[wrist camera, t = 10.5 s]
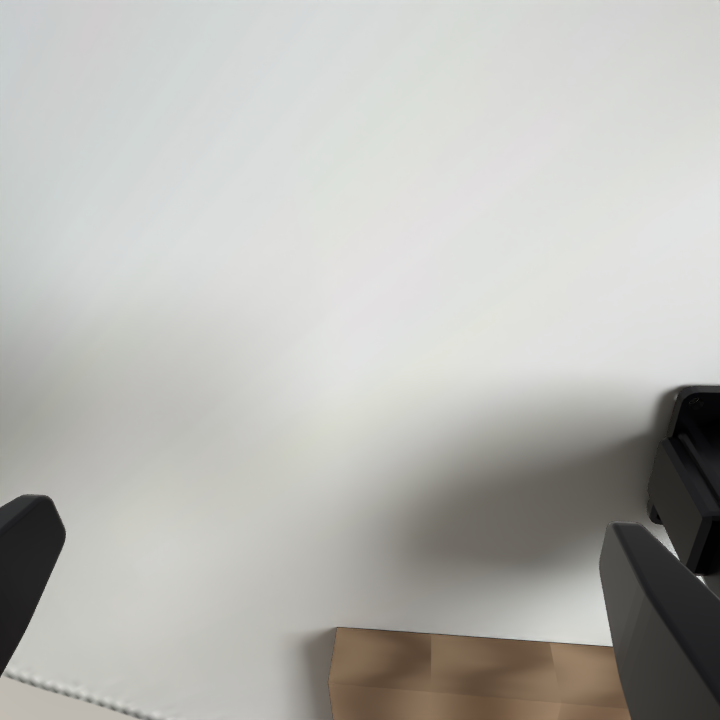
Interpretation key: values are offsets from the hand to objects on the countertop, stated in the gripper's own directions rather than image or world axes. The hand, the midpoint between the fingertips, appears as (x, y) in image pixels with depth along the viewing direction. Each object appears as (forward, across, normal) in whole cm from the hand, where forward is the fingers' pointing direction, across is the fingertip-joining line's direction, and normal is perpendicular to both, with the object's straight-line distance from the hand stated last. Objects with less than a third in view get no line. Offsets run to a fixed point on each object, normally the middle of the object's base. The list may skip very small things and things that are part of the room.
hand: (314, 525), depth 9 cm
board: (+12, -5, +27) cm, 30 cm away
